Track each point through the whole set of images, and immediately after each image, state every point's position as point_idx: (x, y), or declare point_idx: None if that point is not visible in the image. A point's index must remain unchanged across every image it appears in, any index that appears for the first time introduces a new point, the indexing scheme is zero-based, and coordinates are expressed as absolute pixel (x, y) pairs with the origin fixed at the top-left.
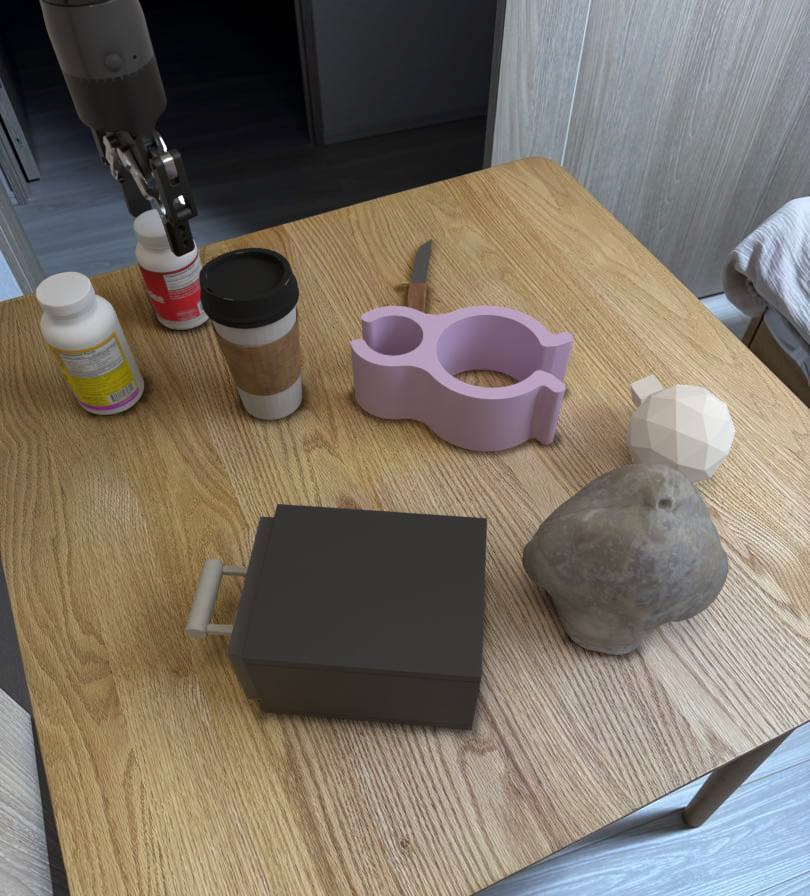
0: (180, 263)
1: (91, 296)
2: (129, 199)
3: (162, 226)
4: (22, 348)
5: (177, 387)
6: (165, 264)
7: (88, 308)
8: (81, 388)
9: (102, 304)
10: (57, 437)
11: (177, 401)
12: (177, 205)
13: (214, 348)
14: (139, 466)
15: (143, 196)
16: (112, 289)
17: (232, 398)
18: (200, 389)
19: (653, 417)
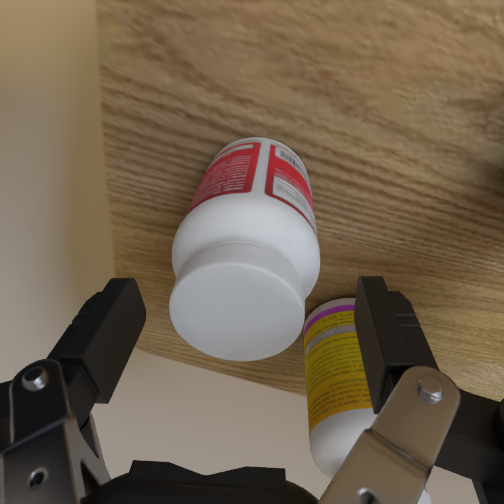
0: (319, 266)
1: (424, 499)
2: (126, 352)
3: (263, 317)
4: (199, 357)
5: (401, 268)
6: (308, 295)
7: (425, 490)
8: None
9: None
10: None
11: (425, 279)
12: (463, 451)
13: (373, 188)
14: (475, 347)
15: (117, 317)
16: (134, 246)
17: (496, 221)
18: (434, 247)
19: None
